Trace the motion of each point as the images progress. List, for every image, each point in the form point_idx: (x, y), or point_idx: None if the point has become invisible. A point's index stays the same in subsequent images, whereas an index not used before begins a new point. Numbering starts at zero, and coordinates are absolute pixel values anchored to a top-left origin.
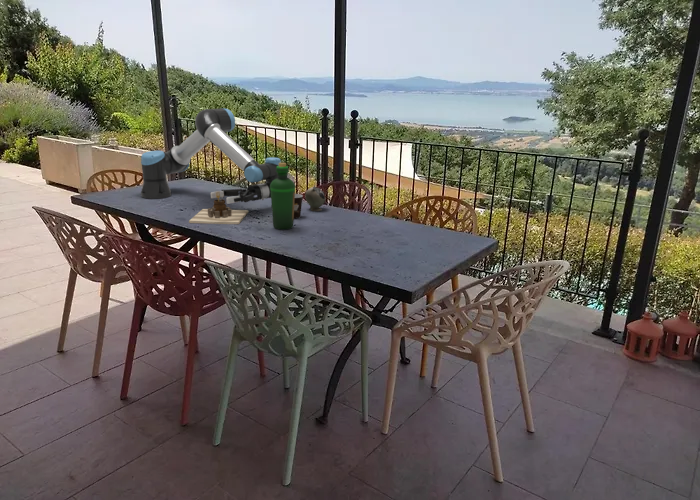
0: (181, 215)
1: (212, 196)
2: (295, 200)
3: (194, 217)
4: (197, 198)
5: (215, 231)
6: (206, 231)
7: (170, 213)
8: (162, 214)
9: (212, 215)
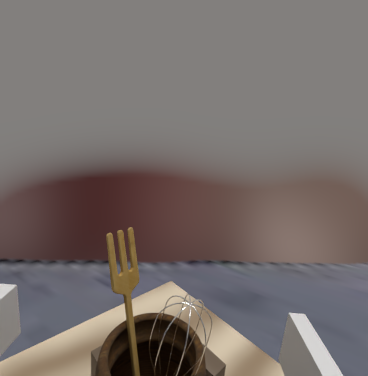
0: None
1: (286, 352)
2: None
3: (205, 313)
4: None
5: None
6: (41, 272)
7: (354, 316)
8: (339, 295)
9: None
